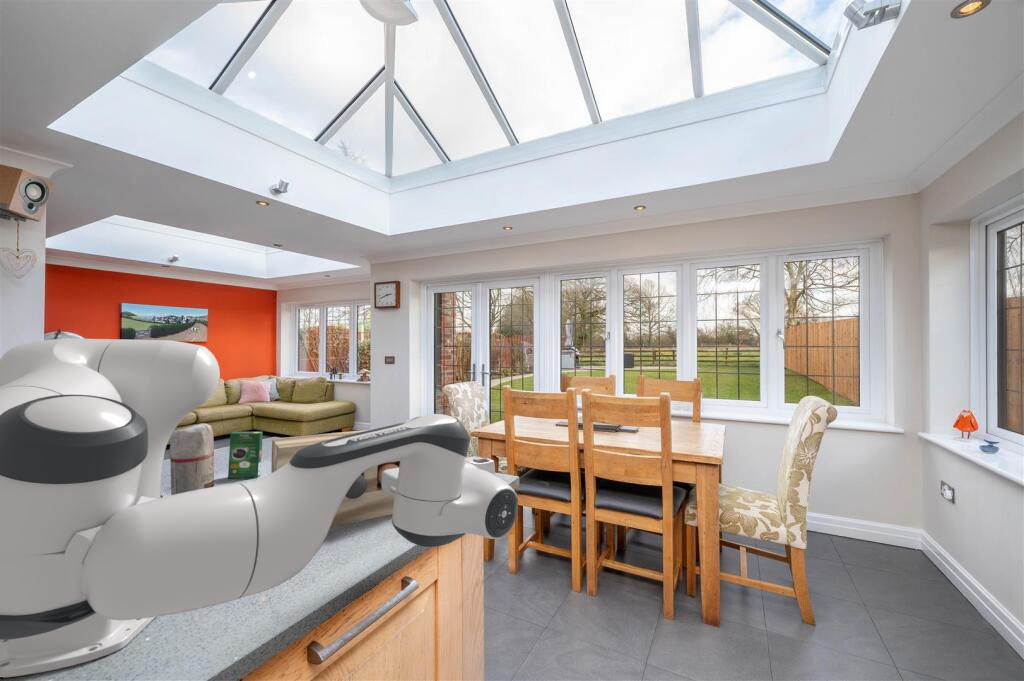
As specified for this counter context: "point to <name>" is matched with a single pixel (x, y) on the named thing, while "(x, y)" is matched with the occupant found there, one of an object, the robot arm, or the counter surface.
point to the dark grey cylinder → (357, 488)
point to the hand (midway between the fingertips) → (421, 465)
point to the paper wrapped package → (192, 459)
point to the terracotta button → (384, 467)
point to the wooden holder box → (349, 509)
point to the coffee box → (245, 454)
